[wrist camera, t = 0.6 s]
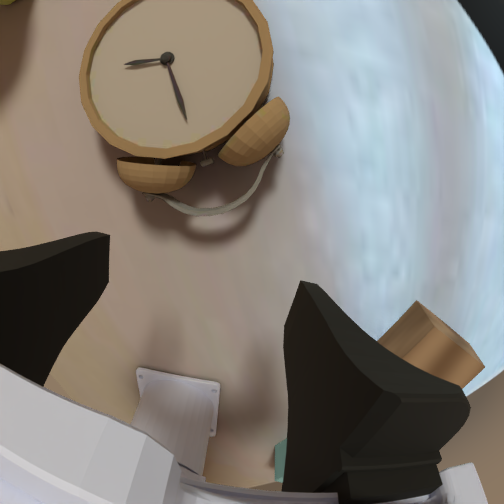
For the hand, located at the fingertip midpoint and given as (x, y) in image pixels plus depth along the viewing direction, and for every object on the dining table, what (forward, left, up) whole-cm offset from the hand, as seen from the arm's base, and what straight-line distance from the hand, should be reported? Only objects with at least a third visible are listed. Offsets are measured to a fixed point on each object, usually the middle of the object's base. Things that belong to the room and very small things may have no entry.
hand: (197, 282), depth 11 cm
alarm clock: (+7, +3, -10) cm, 13 cm away
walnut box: (-12, -18, -10) cm, 24 cm away
